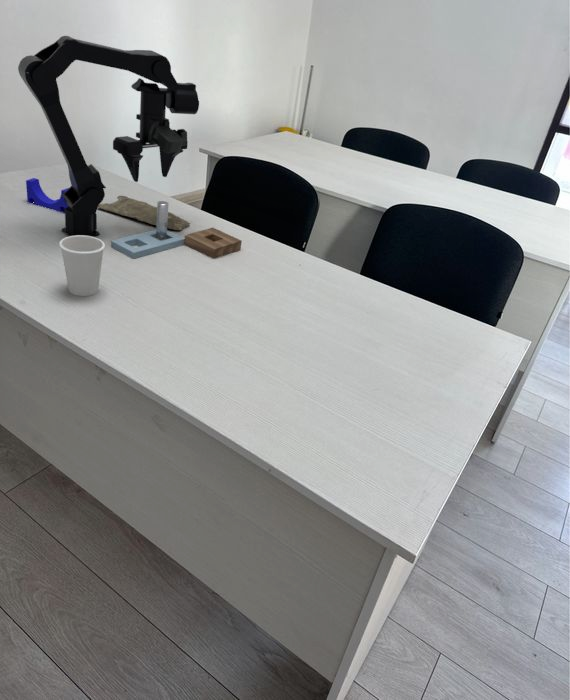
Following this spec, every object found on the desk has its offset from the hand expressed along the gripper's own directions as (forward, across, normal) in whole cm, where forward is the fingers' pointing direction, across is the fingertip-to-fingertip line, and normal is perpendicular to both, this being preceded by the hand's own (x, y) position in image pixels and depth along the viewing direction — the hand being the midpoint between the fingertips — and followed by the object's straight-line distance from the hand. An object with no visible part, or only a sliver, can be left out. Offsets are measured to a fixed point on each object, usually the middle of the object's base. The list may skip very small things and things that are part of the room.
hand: (150, 179), depth 143 cm
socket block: (+13, +6, -17) cm, 22 cm away
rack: (+13, -7, -8) cm, 17 cm away
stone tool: (+14, +5, +7) cm, 16 cm away
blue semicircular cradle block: (+13, -11, +25) cm, 30 cm away
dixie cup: (+13, -33, -18) cm, 40 cm away
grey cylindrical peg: (+13, -3, -8) cm, 16 cm away
